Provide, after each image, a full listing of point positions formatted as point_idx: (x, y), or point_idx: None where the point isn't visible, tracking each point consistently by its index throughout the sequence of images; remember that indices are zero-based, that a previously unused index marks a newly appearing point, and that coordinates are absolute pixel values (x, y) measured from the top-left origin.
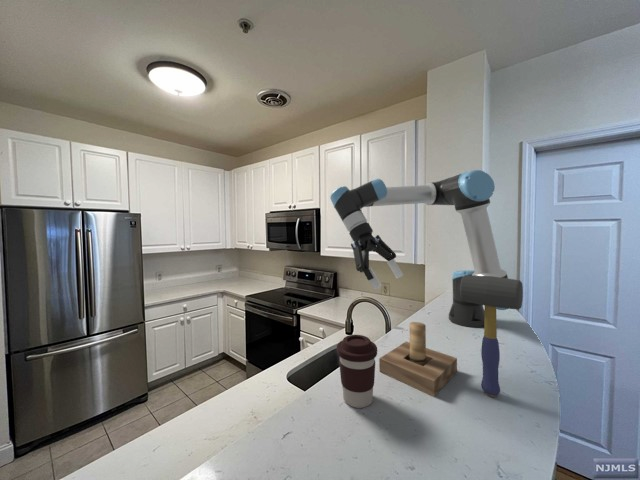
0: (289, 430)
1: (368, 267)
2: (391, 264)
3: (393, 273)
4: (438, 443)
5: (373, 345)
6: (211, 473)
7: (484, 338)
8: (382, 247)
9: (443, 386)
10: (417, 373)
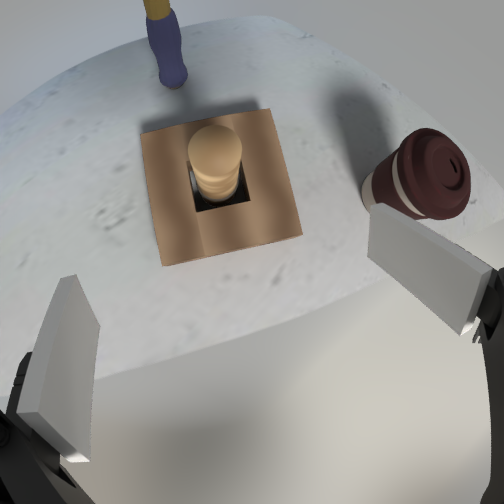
0: (470, 205)
1: (501, 274)
2: (72, 405)
3: (95, 360)
4: (337, 79)
5: (411, 147)
6: None
7: (170, 18)
8: None
9: None
10: (275, 140)
